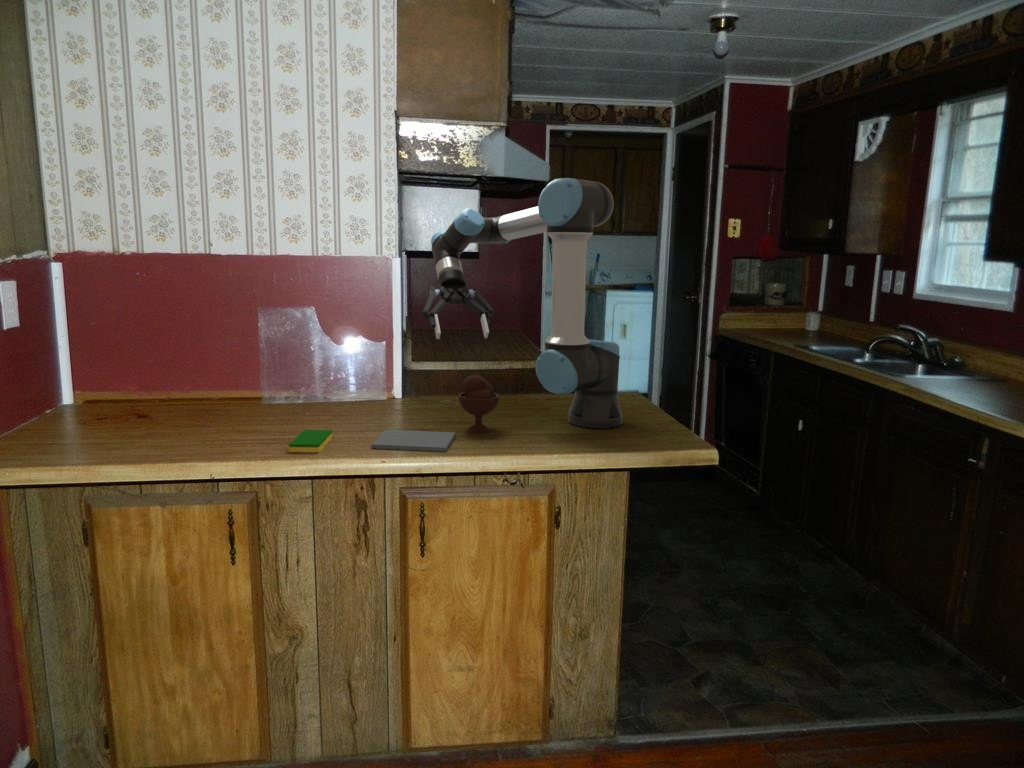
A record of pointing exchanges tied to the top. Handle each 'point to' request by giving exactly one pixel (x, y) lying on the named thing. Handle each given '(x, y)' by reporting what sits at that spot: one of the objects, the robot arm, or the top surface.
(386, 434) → the mat
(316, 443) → the dish sponge
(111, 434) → the top surface
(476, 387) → the ice cream bowl
